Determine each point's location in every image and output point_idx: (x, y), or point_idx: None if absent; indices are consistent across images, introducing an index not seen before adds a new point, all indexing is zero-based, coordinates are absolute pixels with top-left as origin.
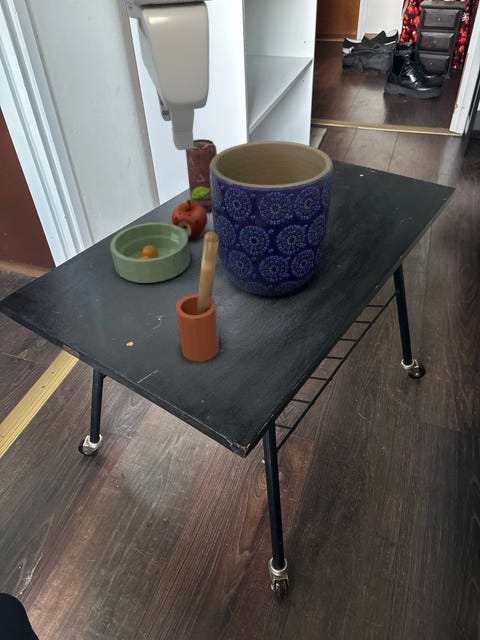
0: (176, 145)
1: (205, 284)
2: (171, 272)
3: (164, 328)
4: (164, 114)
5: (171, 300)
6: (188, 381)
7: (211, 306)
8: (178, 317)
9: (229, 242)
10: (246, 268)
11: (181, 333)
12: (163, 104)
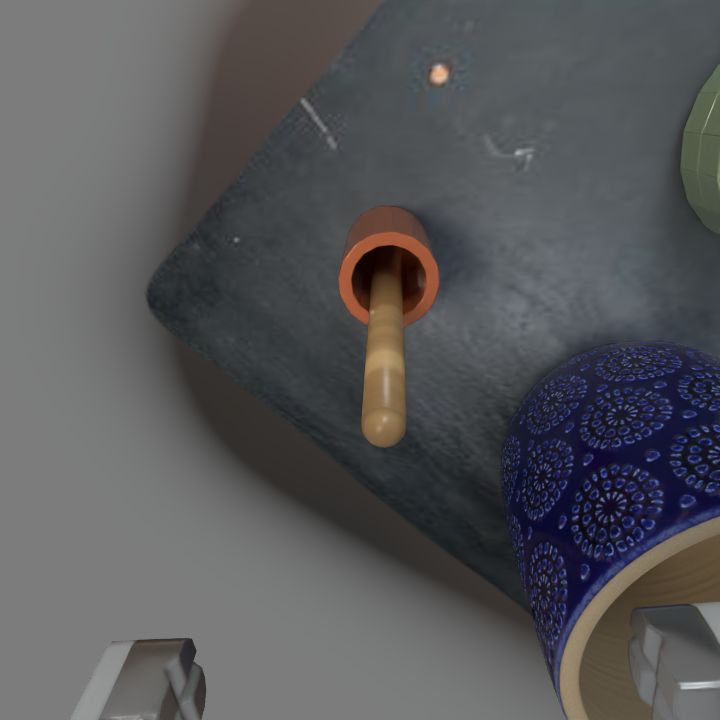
0: (103, 657)
1: (368, 337)
2: (694, 197)
3: (478, 165)
4: (649, 641)
5: (589, 186)
6: (292, 214)
7: None
8: (368, 233)
9: (594, 409)
10: (537, 411)
11: (366, 225)
12: (682, 699)
